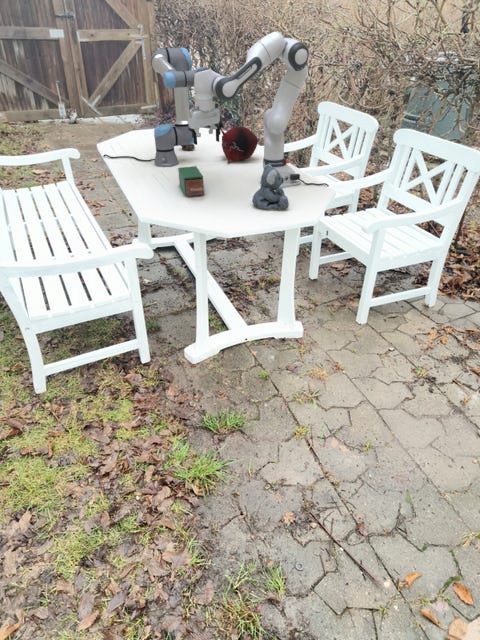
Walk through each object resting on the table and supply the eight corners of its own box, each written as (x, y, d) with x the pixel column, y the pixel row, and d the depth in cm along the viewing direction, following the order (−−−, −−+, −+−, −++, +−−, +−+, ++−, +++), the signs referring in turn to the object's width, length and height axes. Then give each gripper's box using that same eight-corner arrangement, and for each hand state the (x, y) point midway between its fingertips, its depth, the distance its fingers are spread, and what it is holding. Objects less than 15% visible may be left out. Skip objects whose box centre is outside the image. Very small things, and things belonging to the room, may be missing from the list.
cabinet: (204, 194, 244) (203, 176, 238) (185, 196, 242) (183, 177, 236) (197, 183, 260) (196, 166, 254) (179, 185, 257) (178, 167, 252)
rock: (190, 148, 330) (177, 150, 326) (188, 136, 327) (176, 137, 323) (196, 149, 321) (183, 151, 317) (195, 136, 317) (182, 138, 313)
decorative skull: (218, 132, 305) (218, 129, 282) (252, 124, 304) (255, 121, 281) (225, 164, 312) (225, 164, 288) (258, 157, 311) (261, 156, 288)
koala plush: (289, 210, 223) (292, 171, 212) (253, 212, 222) (254, 172, 211) (284, 198, 237) (286, 161, 226) (250, 200, 236) (250, 162, 225)
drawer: (205, 197, 237) (205, 182, 232) (188, 199, 235) (187, 184, 231) (197, 184, 256) (196, 170, 251) (181, 185, 254) (180, 171, 249)
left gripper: (185, 104, 231) (188, 146, 243) (228, 99, 241) (229, 141, 253) (180, 102, 237) (183, 144, 249) (222, 98, 246) (223, 138, 258)
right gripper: (194, 109, 212) (195, 139, 220) (221, 103, 225) (222, 132, 233) (184, 107, 215) (186, 138, 223) (212, 102, 228) (212, 131, 236)
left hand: (206, 142), depth 251 cm, fingers open, 13 cm apart
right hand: (204, 135), depth 228 cm, fingers open, 8 cm apart
